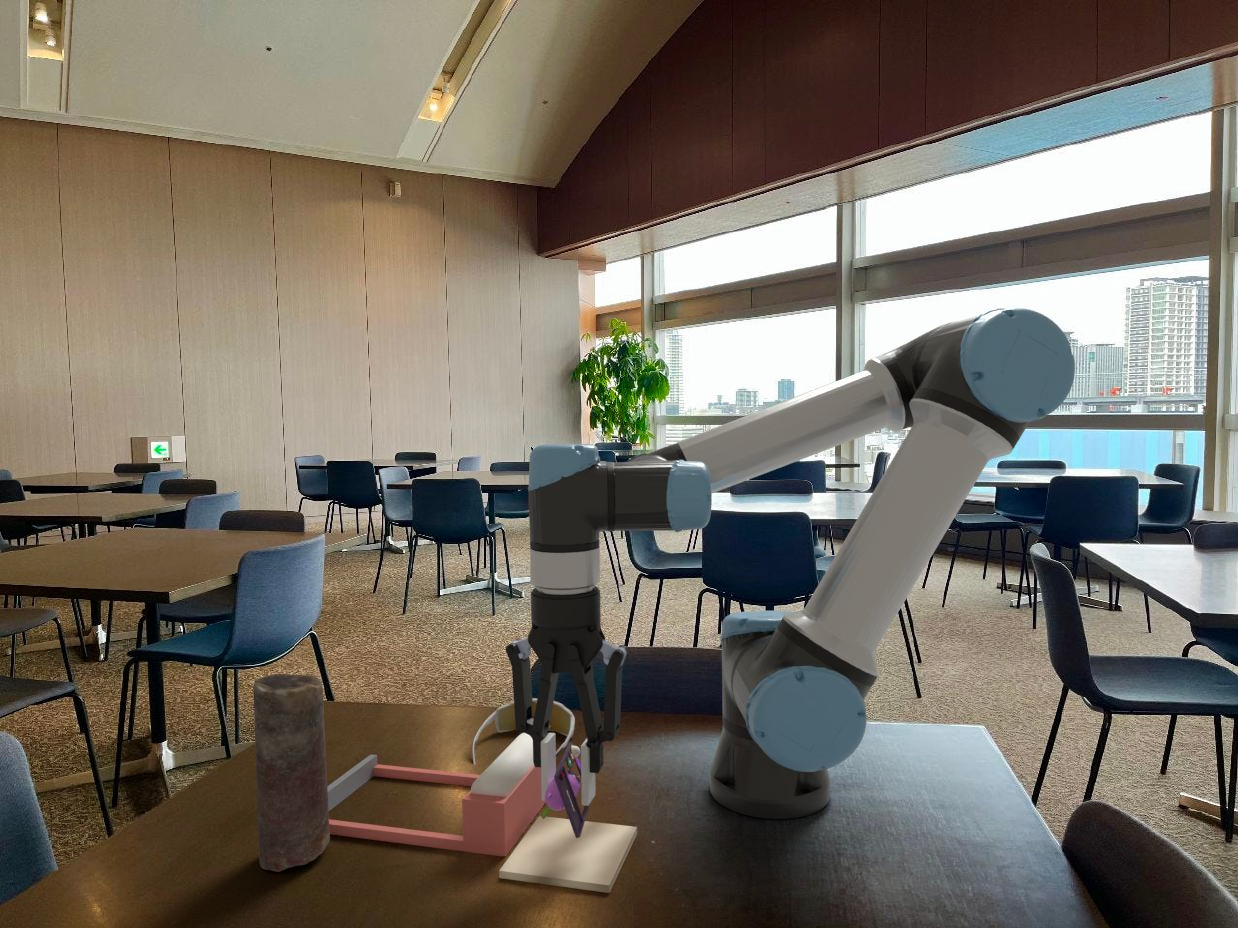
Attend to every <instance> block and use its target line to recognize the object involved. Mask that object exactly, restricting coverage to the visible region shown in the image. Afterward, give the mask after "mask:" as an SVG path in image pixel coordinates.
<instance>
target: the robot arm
mask: <svg viewBox="0 0 1238 928" xmlns="http://www.w3.org/2000/svg"><path fill="white" fill-rule="evenodd" d="M864 365H865V366H864V368H863V369H862V371H860V372H857V373H855V374H851V375H849V376H846V377H844V378H841V379H838V380H836V381H834V382H830V383H828V384H826V385H823V386H821V387H817V388H815V389H813V390H810V391H808V392H805V393H802V394H799V395H797V396H794V397H791V398H789V399H786V400H784V401H781V402H778V403H776V404H773V405H771V406H769V407H765V408H762V409H760V410H758V411H755V412H752V413H750V414H748V415H745V416H742V417H740V418H737V419H734V420H731V421H729V422H726V423H724V424H721V425H718V426H716V427H713V428H711V429H708V430H706V431H703V432H700V433H699V434H695V435H692V436H690V437H688V438H685V439H682V440H679V441H677V442H676V443H674V444H670V445H666V446H664V447H662V448H659V449H656V450H654V451H651V452H649V453H640V454H638V455H635V456H633V457H631V458H629V459H627V461H622V462H621V461H619V462H618V461H617V462H614V461H605V460H603V461H602V460H601V457H600V455H599V449H598V447H597V446H596V445H595V444H592V443H553V444H552V443H548V444H547V443H546V444H539V445H537V446H536V447H535V448H533V449H532V450H531V452H530V454H529V464H528V465H529V468H528V470H529V471H528V486H527V492H528V522H529V541H530V542H529V545H530V548H529V553H530V554H529V559H530V560H529V563H530V564H529V566H530V570H529V576H530V577H529V579H530V584H531V585H532V586H533V587H534V588H533V589H532V590H531V592H530V617H531V619H530V621H531V622H530V623H531V628H530V631H529V632H528V635H527V636H526V637H525V638H522V639H521V638H516V639H515V640H513V641H512V642H510V643H509V644H507V645H506V647H505V653H506V655H507V657H508V661H509V663H510V665H511V676H512V677H511V678H512V687H513V689H512V691H513V701H514V710H515V726H516V730H515V731H516V732H517V733H519V734H522V733H526V734H528V735H530V736H531V737H532V740H533V763H534V766H535V767H540V768H541V788H542V801H545V793H546V790H547V787H548V785H549V784H550V782H551V781H552V780H553V778H554V776H555V773H556V771H557V757H556V752H557V748H556V747H557V746H556V745H557V744H556V732H548V731H549V729H550V728H551V726H549V725H550V719H551V714H552V708H553V702H554V701H555V696H556V692H557V691H556V690H557V684H558V679H559V675H560V673H563V672H564V673H566V674H570V675H572V680H573V683H574V685H575V686H576V690H577V695H578V700H579V706H580V711H581V715H582V721H583V726H584V730H585V735H586V738H585V740H584V741H583V743H582V744H581V745H580V764H581V777H580V779H581V780H580V781H581V783H580V785H581V786H580V790H581V792H580V793H581V806H585V805H586V806H589V804H590V805H591V803H592V801H593V800H594V798H595V796H596V774H599V773H600V772H601V770H602V768H603V766H604V763H605V762H604V743H605V742H612V741H614V739H615V737H616V736H617V735H618V733H619V732H620V731H621V730H620V729H621V713H622V712H621V709H622V707H621V706H622V682H623V681H622V680H623V679H622V677H623V665H624V662H625V660H626V658H627V655H628V653H629V649H628V647H627V646H626V645H624V644H620V645H619V646H618V645H616V644H614V643H611V642H610V641H608V640H606V636H605V634H604V633H603V630H602V626H601V623H602V622H601V621H602V620H601V619H602V618H601V617H602V616H601V614H602V613H601V590H600V589H599V588H598V586H597V585H598V584H599V583H600V581H601V578H600V576H601V573H600V572H601V568H600V567H601V563H600V562H601V559H600V558H601V557H600V556H601V555H600V554H601V553H600V551H601V549H600V532H616V531H618V532H619V531H620V532H621V531H623V532H624V531H625V532H627V531H630V532H631V531H632V532H634V531H635V532H636V531H637V532H638V531H639V532H640V531H641V532H642V531H644V532H645V531H648V532H649V531H650V532H652V531H653V532H654V531H658V532H660V531H661V532H662V531H663V532H665V531H668V532H671V531H674V532H675V533H680V532H683V531H689V530H691V531H693V530H701V529H704V528H705V527H707V525H708V524H709V523H710V520H711V515H712V502H713V501H712V498H713V497H712V494H714V493H716V492H717V493H718V492H719V491H722V490H725V489H728V488H729V487H732V486H736V485H738V484H741V483H743V482H746V481H748V480H751V479H754V478H756V477H759V476H762V475H765V474H767V473H770V472H772V471H775V470H777V469H780V468H783V467H786V466H788V465H791V464H793V463H797V462H798V461H801V460H804V459H806V458H809V457H812V456H814V455H817V454H819V453H822V452H825V451H828V450H831V449H833V448H835V447H839V446H841V445H843V444H844V445H845V444H846V443H849V442H851V441H855V440H857V439H859V438H861V437H865V436H867V435H869V434H872V433H875V432H877V431H880V430H882V429H888V430H890V431H892V432H900V431H903V430H906V429H908V428H910V429H909V431H908V433H907V434H906V436H905V438H904V439H903V441H902V442H901V444H900V446H899V449H898V450H897V451H896V453H895V454H894V457H893V458H892V460H891V461H890V463H889V464H888V467H887V468H886V470H885V472H884V473H883V475H882V476H881V478H880V480H879V482H878V483H877V485H876V487H875V488H874V490H873V492H872V494H871V496H870V497H869V498H868V500H867V503H866V504H865V506H864V507H863V509H862V510H861V512H860V514H859V515H858V517H857V519H856V521H855V522H854V524H853V526H852V527H851V529H850V530H849V532H848V534H847V536H846V537H845V540H844V541H843V543H842V545H841V546H840V547H839V549H838V551H837V552H836V554H835V556H834V558H833V560H832V561H831V562H830V565H829V566H828V568H827V570H826V571H825V573H824V575H823V576H822V579H821V580H820V581H819V583H818V585H817V587H816V588H815V590H814V592H813V593H812V595H811V597H810V598H809V600H808V602H807V604H805V605H806V606H805V607H804V608H803V609H801V610H798V611H791V610H790V611H789V610H750V611H749V610H748V611H739V612H734V613H730V614H728V615H727V616H725V618H723V621H722V624H721V635H720V636H719V639H720V642H721V684H722V686H721V687H722V689H721V690H722V692H721V693H722V699H721V700H722V703H721V704H722V729H721V730H722V731H721V734H720V737H719V740H718V744H717V747H716V750H715V753H714V757H713V759H712V763H711V765H710V768H709V791H710V794H711V796H712V797H713V799H714V800H715V801H716V802H717V803H719V804H720V805H722V806H723V807H725V808H726V809H729V810H731V811H733V812H736V813H739V814H742V815H745V816H750V817H754V818H761V819H771V820H786V819H796V818H797V819H798V818H801V817H806V816H809V815H813V814H814V813H818V812H819V811H820V810H823V808H825V807H826V806H827V805H828V803H829V802H830V799H831V776H830V774H829V771H828V769H832V768H834V767H836V766H838V765H840V764H841V763H843V762H844V761H846V760H847V759H848V758H850V756H852V755H853V754H854V752H855V751H856V750H857V748H858V747H859V746H860V744H861V743H862V741H863V738H864V735H865V732H866V728H867V721H868V720H867V719H868V718H867V708H866V704H865V700H866V697H867V695H868V694H869V692H870V691H871V689H872V687H873V685H874V684H875V682H876V680H877V678H879V674H880V669H879V666H878V663H877V662H878V661H877V658H876V651H877V648H878V647H879V645H880V643H882V640H883V639H884V637H885V635H886V634H887V631H888V630H889V628H891V625H892V623H893V622H894V620H895V618H896V617H897V615H898V614H899V611H900V610H901V608H902V607H903V605H904V604H905V601H906V600H907V598H908V597H909V595H910V593H911V591H912V590H913V588H914V587H915V585H916V583H917V581H918V580H919V578H920V576H921V575H922V573H923V571H924V570H925V569H926V566H927V565H928V563H929V561H930V560H931V557H932V556H933V555H934V553H935V551H937V548H938V547H939V545H940V543H941V541H942V539H943V538H944V537H945V534H946V533H947V531H948V529H949V528H950V526H951V524H952V523H953V520H955V518H956V516H957V514H958V513H959V511H960V510H961V507H962V506H963V504H964V502H965V501H966V499H967V497H968V496H969V494H970V492H971V491H972V489H973V487H974V485H975V484H976V482H977V481H978V479H979V477H980V475H981V474H982V472H983V470H984V469H985V467H986V466H987V464H988V463H989V461H991V460H993V459H996V458H1001V457H1004V456H1008V455H1010V454H1012V452H1013V450H1014V449H1015V447H1016V445H1017V444H1018V442H1019V441H1020V439H1021V437H1022V435H1023V434H1024V433H1025V430H1026V429H1027V427H1028V425H1029V424H1030V422H1034V421H1039V420H1041V419H1043V418H1045V417H1046V416H1048V415H1050V414H1052V413H1053V412H1055V411H1056V410H1057V409H1058V408H1060V407H1061V406H1062V404H1063V403H1064V401H1065V400H1066V399H1067V397H1068V395H1069V394H1070V393H1071V390H1072V387H1073V384H1074V379H1075V372H1076V363H1075V356H1074V354H1073V352H1072V349H1071V344H1070V341H1069V339H1068V337H1067V335H1066V333H1064V331H1063V330H1062V328H1061V327H1060V326H1059V325H1058V324H1057V323H1056V322H1055V321H1054V320H1052V319H1051V318H1049V317H1048V316H1046V315H1044V314H1042V313H1041V312H1038V311H1035V310H1032V309H1028V308H1021V307H1016V308H1015V307H1013V308H994V309H991V310H987V311H985V312H983V313H980V315H978V316H973V317H969V318H963V319H961V320H956V321H951V322H947V323H945V324H942V325H939V326H937V327H935V328H933V329H931V330H928V331H927V332H925V333H923V334H922V335H920V336H917V337H915V338H913V339H912V340H910V341H908V342H906V343H904V344H903V345H900V346H898V347H896V348H894V349H892V350H890V351H888V352H885V353H883V354H881V355H879V356H876V357H873V358H871V359H868V360H867V361H866V362H865V364H864ZM532 651H533V652H534V654H535V655H536V656H537V658H538V660H539V661H540V662H541V669H540V673H539V680H540V681H539V686H538V692H537V703H536V709H535V715H534V717H533V701H532V698H533V686H532V673H531V671H532V670H531V659H530V656H531V654H532ZM600 652H601V653H602V655H603V663H604V664H605V665H606V670H605V677H604V679H605V680H604V706H603V707H604V708H603V709H604V711H603V718H602V715H601V709H600V704H599V700H598V699H599V698H598V695H597V689H596V685H595V680H594V673H595V672H594V666H593V662H594V661H595V659H596V658H597V656H598V655H599V653H600ZM590 802H591V803H590Z"/></svg>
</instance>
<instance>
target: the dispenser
mask: <svg viewBox="0 0 1238 928" xmlns="http://www.w3.org/2000/svg"><path fill="white" fill-rule="evenodd" d="M373 777H379V778H381V777H382V778H390V779H397V780H406V781H407V780H409V781H417V782H427V783H428V782H429V783H436V784H446V785H454V786H455V785H456V786H465V787H470V791H468V792H467V793H466V794H465V795H464V796H463V798H462V799H461V802H462V803H461V805H462V806H461V807H462V810H461V811H462V832H463V833H462V835H459V834H452V833H451V834H450V833H442V832H434V831H428V830H427V831H425V830H417V829H409V828H404V827H403V828H402V827H394V826H387V825H386V826H385V825H378V824H370V823H369V824H368V823H363V822H362V823H361V822H354V821H353V822H352V821H345V820H337V819H330V818H329V831H330V835H334V836H335V835H336V836H341V837H342V836H343V837H349V838H350V837H351V838H357V839H365V840H374V841H381V842H389V843H395V844H396V843H397V844H403V845H410V846H411V845H412V846H419V847H427V848H435V849H443V850H449V851H458V852H465V853H473V854H482V855H488V856H489V855H490V856H496V857H497V856H498V857H503V856H505V857H504V858H506V857H507V855H509V853H510V852H511V850H512V849H513V848H514V846H515V844H516V843H518V841H519V839H521V836H522V835H523V834H524V833H525V831H526V829H527V828H528V827H529V826H530V824H531V823H532V821H533V820H534V819H535V818H536V816H537V815H538V813H539V812H540V810H541V809H542V808H543V806H544V805H545V804H546V801H542V788H541V768H540V767H535V766H534V763H533V740H532V737H531V736H530V735H528V734H526V733H519V735H517V736H516V738H515V739H514V740H513V741H512V742H511V743H510V744H509V745H508V746H507V747H506V748H505V749H504V750H503V752H501V754H499V755H498V756H497V757H496V758H495V760H493V762H492V763H490V765H489V766H488V767H487V768H486V769H485V770H484V771H483V772H482V773H481V774H478V773H477V774H476V773H466V772H456V771H455V772H454V771H445V770H439V769H438V770H436V769H427V768H419V767H418V768H417V767H407V766H406V767H405V766H397V765H396V766H395V765H390V764H389V765H387V764H378V754H369V755H368V756H366V757H365V758H364V759H362V760H361V761H359V762H358V763H357V764H356V765H354V766H353V767H352V768H350V769H349V770H347V771H346V772H345V773H344V774H342V775H341V776H339V777H338V778H337V779H335V780H334V781H333V782H331V783H330V784H328V785H327V789H328V808H329V812H330V811H332V810H333V809H334V808H336V807H337V806H338V805H340V803H342V802H343V801H344V800H345V799H346V798H348V797H350V795H352V794H353V793H354V792H355V791H357V790H358V789H360V788H361V787H362V786H364V785H365V784H366V783H368V781H370V780H371V779H372V778H373Z"/></svg>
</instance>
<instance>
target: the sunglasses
mask: <svg viewBox="0 0 1238 928" xmlns="http://www.w3.org/2000/svg"><path fill="white" fill-rule="evenodd" d="M537 698H538V697H537ZM537 698H536V697H535V698H534V697H532V701H533V717H534V715H535V709H536V703H537ZM492 722H494V723H495V728H496V731H497V733H505V732H512V731H517V730H516V726H515V710H514V700H512V701H510V702H509V703H507V704H503V705H502V706H499V707H498V708H497V709H496V710H495V711H493V712H492V713H491V714H490V715H489V716H488V717H487V718H486V720H484V722H483V723H482V724H481V726H480V727H479V729H478V731H476V735H475V736H474V739H473V742H472V763H473V766H475V765H476V764H477V763H476V762H477V761H476V755H475V751H476V750H475V749H476V743H477V742H478V739H479V737H480V734H481V733H482V731H483V730H484V729H485V728H486V727H487V726H489V725H491V724H492ZM575 723H576V719H575V716H574V713H573V712H572V711H571V710H570V709H569V708H567V707H566V706H565V705H564V704H563V703H560V702H559V701H555V700H554V702H553V708H552V714H551V719H550V725H549V726H551V728H550V729H549V730H548V731H550V732H551V731H552V732H554V733H559V734H561V735H563V736H566V738H565V741H563V743H562V744H561V745H560V746H559V748H558V749H556V758H558V756H559V755H560V754H561V752H562V751H563V750H564V749H565V748H567V745H568V743H569V741H570V739H571V738H572V737H573V735H574V730H575V725H576V724H575Z"/></svg>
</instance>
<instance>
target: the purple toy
mask: <svg viewBox="0 0 1238 928" xmlns="http://www.w3.org/2000/svg"><path fill="white" fill-rule="evenodd" d="M565 748H566V749H565V750H564V752H563V754H562V757H561V760H560V762H559V764H558V767H557V768H556V773H555V776H554V778H553V780H552V781H551V782H550V784H549V785H548V787H547V790H546V793H545V801H546V802H545V804H546V805H547V806H546V808H545V810H544V811H542V815H540V816H541V817H542V819H545V817H548V815H549V814H550V813H551V811H555V812H559V811H560V812H561V811H563V810H565V812H566V814H567V817H568V818H567V819H569V820H570V823H571V826H572V829H573V831H574V834H575V837H576V838H579V837H580V836H581V833H582V829H583V826H584V823H585V821H586V819H587V816H588V812H589V809H590V806H591V803H592V801H591V802H590V804H589V806H586V805H583V806H584V807H583V810H582V812H581V808H580V806H579V804H578V801H577V798H576V797H577V796H578V794H579V792H580V790H581V784H580V781H581V780H580V778H581V760H580V759H579V756H581V748H579V746H577V745H574V742H573V741H570V742H569V741H568V743H567V746H566V747H565ZM565 763H566V766H567V768H568V769H567V771H566V768H565ZM574 763H575V766H576V768H577V771H578V774H579V775H577V774H575V773H574V772H573V771H572V768H573V765H574Z"/></svg>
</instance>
